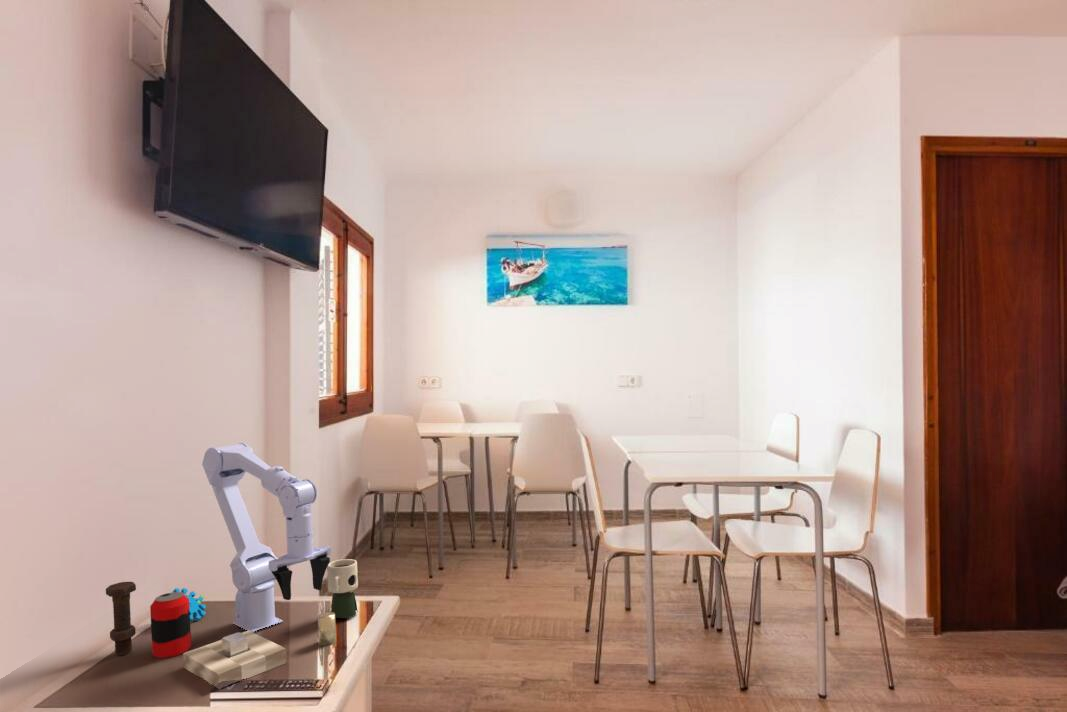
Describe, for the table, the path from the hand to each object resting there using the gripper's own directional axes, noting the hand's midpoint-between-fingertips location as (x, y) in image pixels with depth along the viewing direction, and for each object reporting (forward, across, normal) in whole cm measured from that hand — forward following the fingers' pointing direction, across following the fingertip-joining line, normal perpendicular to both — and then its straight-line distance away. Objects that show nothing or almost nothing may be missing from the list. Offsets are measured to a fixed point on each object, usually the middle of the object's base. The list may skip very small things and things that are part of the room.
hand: (302, 593), depth 156 cm
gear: (+10, -11, +34) cm, 37 cm away
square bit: (+10, -17, -2) cm, 20 cm away
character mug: (+10, +12, +2) cm, 15 cm away
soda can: (+10, -22, +17) cm, 29 cm away
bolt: (+10, -29, +25) cm, 39 cm away
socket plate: (+9, -17, -2) cm, 20 cm away
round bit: (+9, +1, -8) cm, 12 cm away
